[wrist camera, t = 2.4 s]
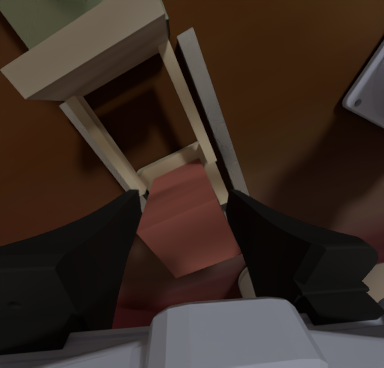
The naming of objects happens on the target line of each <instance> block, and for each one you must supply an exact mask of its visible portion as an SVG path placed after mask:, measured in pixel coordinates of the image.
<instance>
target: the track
mask: <svg viewBox="0 0 384 368" xmlns="http://www.w3.org/2000/svg"><path fill="white" fill-rule="evenodd" d="M103 1H105V0H0V11H1V12H2V14H3V15H4V16H5V18H6V19H7V20H8V22H9V23H10V24H11V26H12V27H13V28H14V30H15V31H16V32H17V34H18V35H19V36H20V38H21V39H22V40H23V42H24V43H25V44H26V46H27V47H28V49H29V50H31V49H32V48H34V47H35V46H37V45H38V44H40V43H41V42H43V41H44V40H46V39H47V38H49V37H50V36H52V35H53V34H55V33H56V32H58V31H59V30H61V29H62V28H64V27H65V26H67V25H68V24H70V23H71V22H73V21H74V20H76V19H77V18H79V17H80V16H82V15H83V14H85V13H87V12H88V11H90V10H91V9H93V8H94V7H96V6H97V5H99V4H100V3H102V2H103ZM160 2H161V5H162V7H163V10H164V13H165V18H166V25H167V32H168V36H169V35H170V27H169V18H168V16H167V13H166V11H165V8H164V5H163V3H162V0H160ZM177 44H178V47H179V49H180V52H181V55H182V57H183V60H184V62H185V65H186V68H187V70H188V73H189V75H190V78H191V81H192V83H193V86H194V88H195V91H196V94H197V96H198V99H199V101H200V104H201V107H202V109H203V112H204V114H205V117H206V120H207V122H208V125H209V127H210V130H211V133H212V135H213V138H214V140H215V143H216V145H217V148H218V151H219V153H220V156H221V158H222V161H223V164H224V166H225V169H226V171H227V174H228V177H229V179H230V182H231V184H232V187H233V190H239V191H241V192H243V193H245V194H246V195H248V196H249V193H248V190H247V187H246V184H245V181H244V178H243V175H242V172H241V169H240V166H239V164H238V161H237V158H236V155H235V152H234V149H233V146H232V143H231V140H230V137H229V134H228V131H227V128H226V125H225V122H224V119H223V116H222V113H221V110H220V107H219V104H218V101H217V98H216V95H215V92H214V89H213V86H212V83H211V80H210V77H209V74H208V71H207V68H206V65H205V62H204V59H203V56H202V53H201V50H200V47H199V44H198V41H197V38H196V35H195V32H194V29H193V27H192V28H191V29H189V30H187V31H186V32H184V33H182V34H181V35H179V36H177ZM60 108H61V109H62V110H63V112H64V113H65V114H66V115H67V117H68V118H69V119H70V121H71V122H72V123H73V124H74V126H75V127H76V128H77V130H78V131H79V132H80V133H81V135H82V136H83V137H84V138H85V140H86V141H87V142H88V144H89V145H90V146H91V147H92V149H93V150H94V151H95V153H96V154H97V155H98V156H99V158H100V159H101V160H102V162H103V163H104V164H105V165H106V167H107V168H108V169H109V171H110V172H111V173H112V174H113V176H114V177H115V178H116V179H117V181H118V182H119V183H120V185H121V186H122V187H123V188H124V190H125V191H128V190H129V189H131V188H130V187H129V186H128V184H127V183H126V182H125V180H124V179H123V178H122V176H121V175H120V174H119V172H118V171H117V170H116V168H115V167H114V166H113V164H112V163H111V162H110V160H109V159H108V158H107V156H106V155H105V154H104V152H103V151H102V150H101V148H100V147H99V146H98V144H97V143H96V142H95V141H94V139H93V138H92V137H91V135H90V134H89V133H88V131H87V130H86V129H85V127H84V126H83V125H82V123H81V122H80V121H79V119H78V118H77V117H76V115H75V114H74V113H73V111H72V110H71V109H70V107H69V106H68V105H67V103H66V102H65V103H63V104H61V105H60ZM148 196H149V195H148V194H147V192H145V194H143V195H141V196H140V202H141V211H142V213H143V211H144V208H145V205H146V202H147V199H148ZM226 205H227V204H224V205H222V206H221V207H222V209H223V212H224V214H225V216H226V213H225V211H226ZM226 219H227V217H226Z"/></svg>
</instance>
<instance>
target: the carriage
mask: <svg viewBox="0 0 384 368" xmlns="http://www.w3.org/2000/svg"><path fill="white" fill-rule="evenodd" d="M157 53H160V55H161V57H162V60H163V62H164V64H165V67H166V69H167V71H168V73H169V76H170V78H171V80H172V83H173V85H174V87H175V89H176V92H177V94H178V96H179V99H180V101H181V103H182V105H183V108H184V110H185V112H186V115H187V117H188V119H189V121H190V124H191V126H192V128H193V131H194V133H195V135H196V137H197V140H198V141H197V142H195V143H193V144H191V145H189V146H187V147H185V148H183V149H181V150H179V151H177V152H174V153H172V154H170V155H168V156H166V157H164V158H162V159H160V160H158V161H156V162H154V163H152V164H150V165H148V166H146V167H144V168H142V169H139V170H138V172H137V173H136V172H135V171H134V169H133V168H132V166H131V165H130V163H129V162H128V161H127V159H126V158H125V156H124V155H123V153H122V152H121V150H120V149H119V148H118V146H117V145H116V143H115V142H114V140H113V139H112V138H111V136H110V135H109V133H108V132H107V130H106V129H105V127H104V126H103V125H102V123H101V122H100V120H99V119H98V117H97V116H96V115H95V113H94V112H93V110H92V109H91V107H90V106H89V104H88V103H87V102H86V100H85V99H84V97H83V96H85V95H87V94H89V93H90V92H92V91H94V90H95V89H97V88H99V87H101V86H102V85H104V84H106V83H107V82H109V81H111V80H113V79H114V78H116V77H118V76H120V75H121V74H123V73H125V72H126V71H128V70H130V69H132V68H133V67H135V66H137V65H138V64H140V63H142V62H144V61H145V60H147V59H149V58H150V57H152V56H154V55H156V54H157ZM0 70H1V72H2V73H3V74H4V75H5V76H6V77H7V78H8V80H9V81H10V82H11V83H12V84H13V85H14V87H15V88H16V89H17V90H18V91H19V92H20V94H21V95H22V96H23V97H24V98H25V99H33V100H55V101H65V102H66V103H67V105H68V106H69V107H70V109H71V110H72V111H73V113H74V114H75V115H76V117H77V118H78V119H79V121H80V122H81V123H82V125H83V126H84V127H85V129H86V130H87V131H88V133H89V134H90V135H91V137H92V138H93V139H94V141H95V142H96V143H97V144H98V146H99V147H100V148H101V150H102V151H103V152H104V154H105V155H106V156H107V158H108V159H109V160H110V162H111V163H112V164H113V166H114V167H115V168H116V170H117V171H118V172H119V174H120V175H121V176H122V178H123V179H124V180H125V182H126V183H127V184H128V186H129V187H130V188H131V189H139V196H141V195H143V194H145V192H146V189H147V190H148V191H149V196H148V199H147V202H146V205H145V208H144V211H143V214H142V217H141V220H140V223H139V226H138V229H137V232H136V233H137V234H138V235H139V236H140V238H141V239H142V240H143V241H144V242H145V243H146V244H147V246H148V247H149V248H150V249H151V250H152V251H153V252H154V254H155V255H156V256H157V257H158V258H159V259H160V260H161V262H162V263H163V264H164V265H165V266H166V267H167V268H168V270H169V271H170V272H171V273H172V274H173V275H174V276H175V278H179V277H181V276H184V275H187V274H189V273H192V272H195V271H197V270H200V269H203V268H205V267H208V266H211V265H214V264H216V263H219V262H222V261H224V260H227V259H230V258H232V257H235V256H238V255H240V254H242V253H241V251H240V249H239V247H238V244H237V242H236V240H235V237H234V235H233V233H232V230H231V228H230V226H229V223H228V221H227V219H226V216H225V214H224V212H223V209H222V207H221V205H222V204H224V203H227V200H228V192H227V190H226V187H225V185H224V182H223V180H222V178H221V175H220V173H219V170H218V168H217V165H216V163H215V161H217V159H216V156H215V154H214V152H213V149H212V147H211V144H210V142H209V139H208V137H207V134H206V132H205V129H204V127H203V124H202V122H201V119H200V117H199V114H198V112H197V109H196V107H195V104H194V102H193V99H192V97H191V94H190V92H189V89H188V87H187V84H186V82H185V79H184V77H183V74H182V72H181V70H180V67H179V65H178V62H177V60H176V57H175V55H174V52H173V50H172V47H171V45H170V42H169V39H168V32H167V25H166V18H165V13H164V10H163V7H162V5H161V2H160V0H105V1H103V2H102V3H100V4H99V5H97V6H96V7H94V8H93V9H91V10H90V11H88V12H87V13H85V14H83V15H82V16H80V17H79V18H77V19H76V20H74V21H73V22H71V23H70V24H68V25H67V26H65V27H64V28H62V29H61V30H59V31H58V32H56V33H55V34H53V35H52V36H50V37H49V38H47V39H46V40H44V41H43V42H41V43H40V44H38V45H37V46H35V47H34V48H32V49H31V50H29V51H28V52H26V53H24V54H23V55H21V56H20V57H18V58H17V59H15V60H14V61H12V62H11V63H9V64H8V65H6V66H5V67H3V68H2V69H0Z"/></svg>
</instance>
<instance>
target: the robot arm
mask: <svg viewBox="0 0 384 368" xmlns="http://www.w3.org/2000/svg"><path fill="white" fill-rule="evenodd" d="M355 102H356V104H355ZM342 105H343V107H344V108H346V109H348V110H350V111H352V112H354V113H356V114H358V115H359V116H361V117H363V118H365V119H367V120H369V121H371V122H372V123H374V124H376V125H378V126H380V127H382V128H384V40H383V42H382V43H381V45H380V46H379V48H378V49H377V51H376V52H375V53H374V55H373V56H372V58H371V59H370V61H369V62H368V64H367V65H366V67H365V68H364V70H363V71H362V72H361V74H360V75H359V77H358V78H357V80H356V81H355V83H354V84H353V86H352V87H351V89H350V90H349V91H348V93H347V94H346V96H345V97H344V99H343V102H342ZM225 213H226V217H227V220H228V223H229V226H230V228H231V230H232V232H233V234H234V237H235V239H236V241H237V243H238V245H239V247H240V250H241V252H242V254H243V257H244V260H245V263H246V266H247V269H248V272H249V276H250V279H251V282H252V285H253V289H254V292H255V296H256V297H255V298H241V299H227V300H212V301H198V302H186V303H182V304H177V305H173V306H169V307H168V308H166V309H164V310H163V311H161V312H160V313H158V314H157V315H156V316H155V317H154V318H153V320H152V323H151V325H150V326H146V327H133V328H122V329H112V323H113V318H114V313H115V309H116V304H117V299H118V294H119V290H120V286H121V281H122V277H123V273H124V269H125V265H126V261H127V258H128V254H129V251H130V249H131V246H132V243H133V241H134V238H135V235H136V232H137V229H138V226H139V223H140V219H141V214H142V211H141V202H140V196H139V189H129V190H128V191H126V192H125V193H123V194H122V195H120V196H119V197H117V198H116V199H114V200H113V201H111V202H110V203H108V204H107V205H105V206H103V207H102V208H100V209H98V210H97V211H95V212H93V213H91V214H89V215H87V216H85V217H83V218H81V219H79V220H77V221H74V222H72V223H69V224H67V225H65V226H62V227H60V228H57V229H55V230H52V231H49V232H46V233H43V234H40V235H37V236H34V237H31V238H28V239H25V240H21V241H18V242H14V243H11V244H7V245H4V246H0V368H384V298H383V299H382V300H380V301H379V302H378V303H377V302H376V301H375V300H374V299H373V298H372V297H371V296H370V295H368V293H366V292H368V291H369V288H368V286H366V285H365V284H364V283H363V282H362V280H363V279H364V278H365V277H366V276H367V274H368V273H369V272H370V271H371V270H372V268H373V267H374V266H375V264H376V263H377V260H378V252H377V251H376V249H375V248H373V247H372V246H371V245H369V244H368V243H366V242H365V241H364V240H362V239H360V238H359V237H356V236H352V235H347V234H343V233H339V232H335V231H331V230H327V229H324V228H320V227H317V226H314V225H311V224H307V223H305V222H302V221H299V220H296V219H294V218H291V217H289V216H286V215H284V214H282V213H279V212H277V211H275V210H273V209H271V208H269V207H267V206H265V205H264V204H262V203H260V202H258V201H257V200H255V199H253V198H251V197H250V196H248V195H246V194H245V193H243V192H241V191H239V190H229V194H228V200H227V205H226V211H225Z"/></svg>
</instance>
